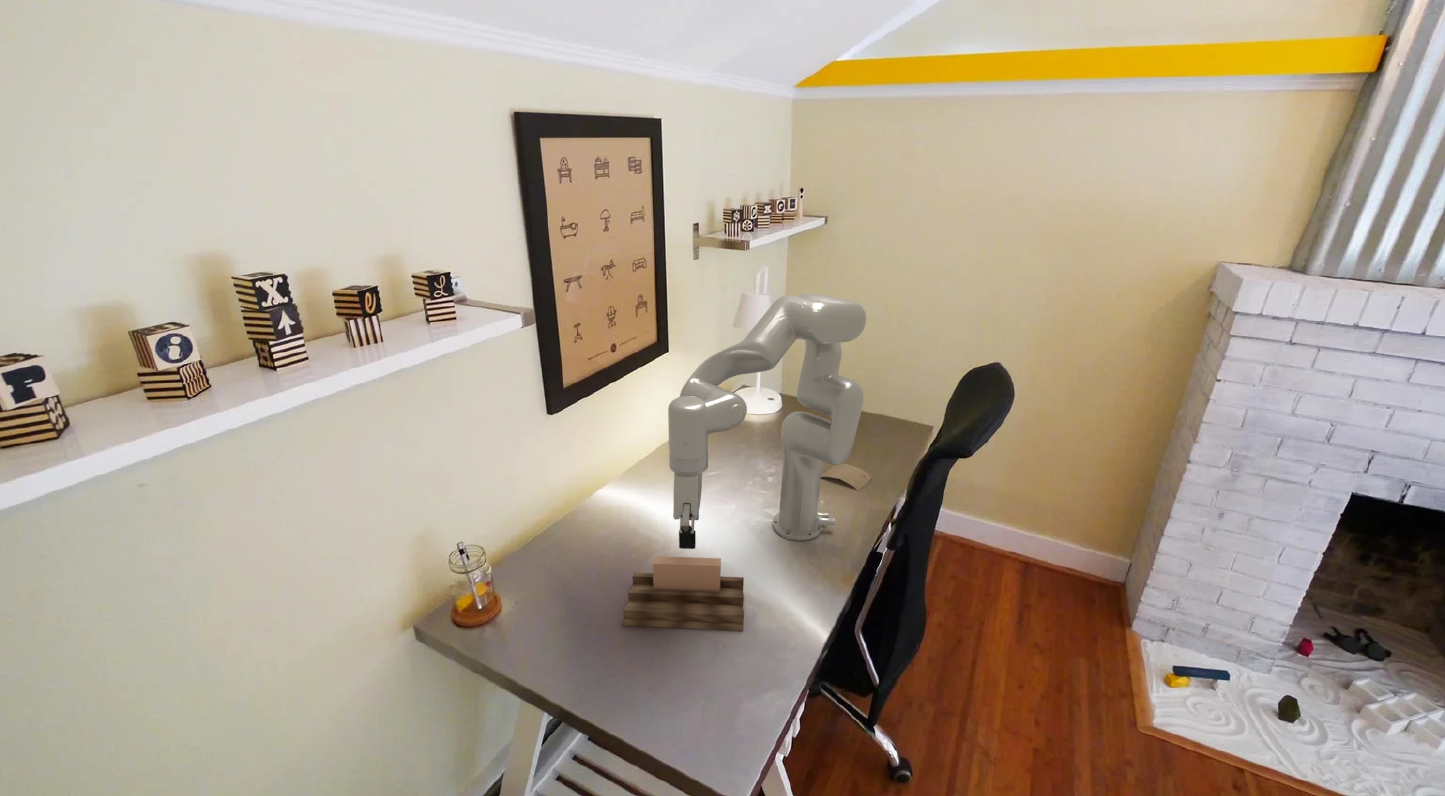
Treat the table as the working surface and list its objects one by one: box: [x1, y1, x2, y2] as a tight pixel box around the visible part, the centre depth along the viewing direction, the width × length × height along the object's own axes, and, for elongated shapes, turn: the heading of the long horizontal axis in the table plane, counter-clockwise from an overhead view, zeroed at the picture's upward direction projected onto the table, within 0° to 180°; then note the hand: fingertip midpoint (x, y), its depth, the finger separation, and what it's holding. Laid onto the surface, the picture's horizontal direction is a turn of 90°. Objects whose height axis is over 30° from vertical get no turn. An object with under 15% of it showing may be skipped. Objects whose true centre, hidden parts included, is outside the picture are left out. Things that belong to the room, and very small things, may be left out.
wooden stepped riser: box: [623, 572, 745, 632], centre depth 123 cm, size 24×12×4 cm, turn 88°
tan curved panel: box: [821, 463, 873, 491], centre depth 177 cm, size 14×10×3 cm
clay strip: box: [652, 555, 722, 593], centre depth 124 cm, size 14×2×8 cm, turn 89°
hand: (689, 533), depth 121 cm, fingers open, 9 cm apart
